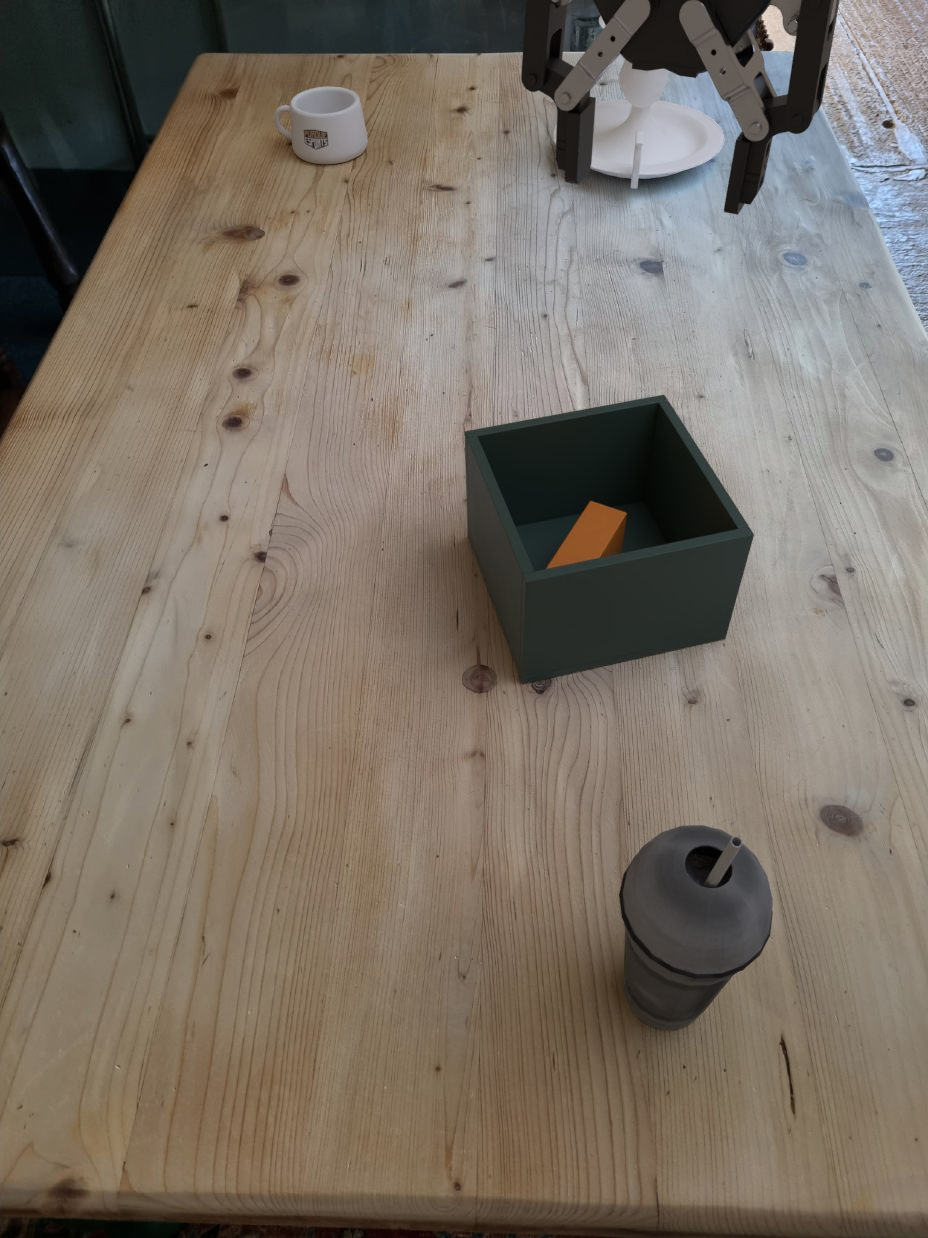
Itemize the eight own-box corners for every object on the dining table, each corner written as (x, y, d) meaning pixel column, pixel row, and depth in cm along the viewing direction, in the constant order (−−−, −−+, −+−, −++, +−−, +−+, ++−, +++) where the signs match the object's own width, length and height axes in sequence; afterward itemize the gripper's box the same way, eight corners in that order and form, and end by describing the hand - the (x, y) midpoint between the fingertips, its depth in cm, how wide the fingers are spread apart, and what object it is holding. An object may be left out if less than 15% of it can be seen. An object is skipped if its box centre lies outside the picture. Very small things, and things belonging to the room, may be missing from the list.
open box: (725, 639, 73) (754, 534, 65) (522, 684, 71) (525, 582, 62) (648, 499, 83) (664, 393, 74) (467, 536, 80) (464, 430, 72)
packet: (627, 512, 73) (578, 592, 68) (621, 559, 77) (574, 638, 72) (590, 500, 74) (538, 578, 69) (585, 546, 78) (536, 624, 73)
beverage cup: (704, 919, 59) (777, 730, 44) (748, 1044, 54) (846, 881, 39) (586, 940, 58) (617, 756, 43) (619, 1069, 54) (668, 913, 38)
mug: (378, 135, 129) (373, 86, 124) (355, 169, 123) (349, 119, 118) (291, 128, 131) (284, 79, 126) (264, 161, 125) (256, 111, 120)
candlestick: (541, 213, 114) (551, -72, 93) (558, 120, 130) (571, -142, 109) (722, 222, 112) (775, -69, 91) (718, 126, 128) (762, -141, 107)
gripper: (499, -200, 39) (500, 199, 51) (868, -177, 35) (773, 253, 47) (568, -236, 44) (554, 140, 56) (904, -219, 39) (809, 184, 51)
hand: (654, 191), depth 51 cm, fingers open, 8 cm apart
